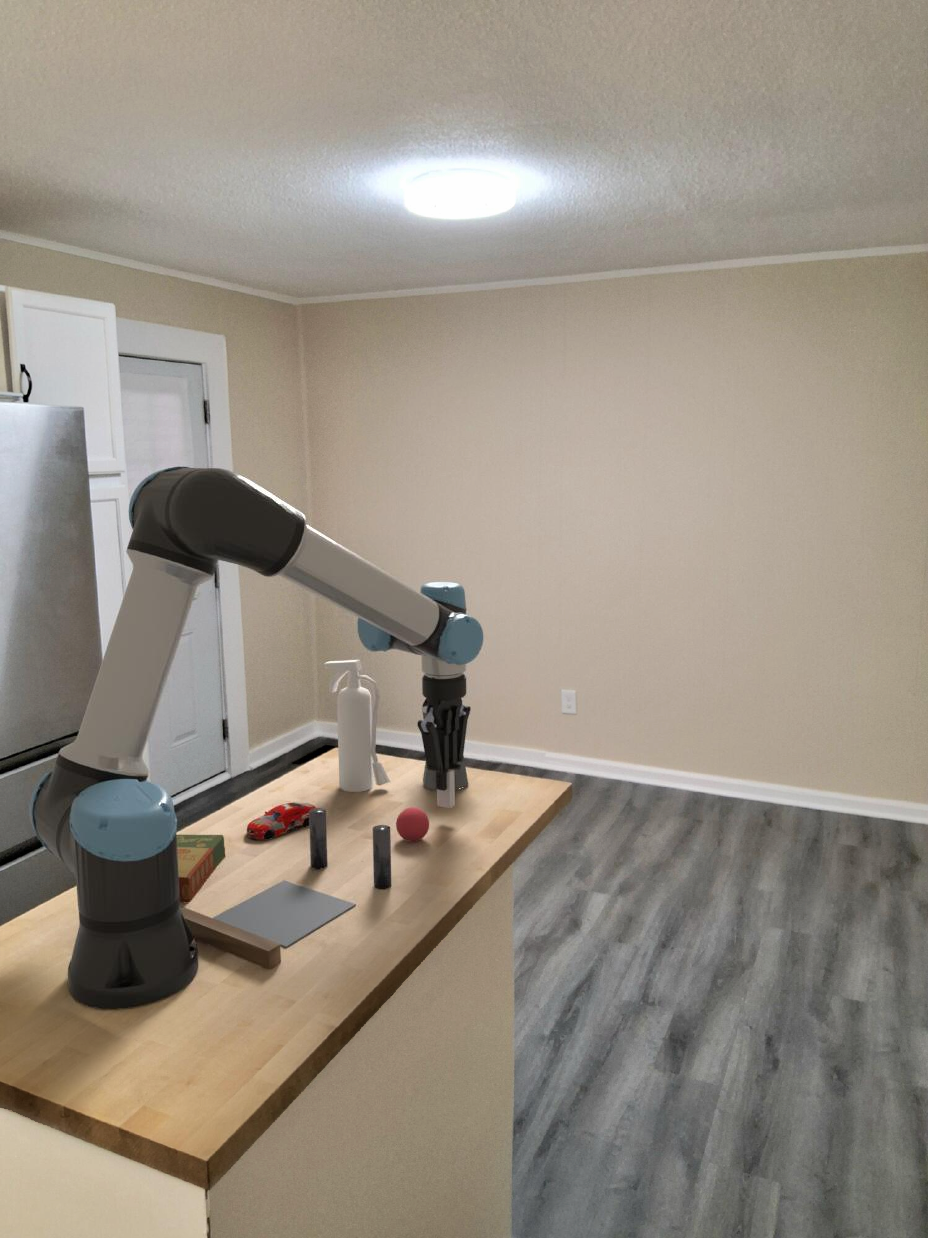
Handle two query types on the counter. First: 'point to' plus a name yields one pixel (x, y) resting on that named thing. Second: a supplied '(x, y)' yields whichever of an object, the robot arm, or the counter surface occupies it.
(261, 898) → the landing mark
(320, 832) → the far post
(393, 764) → the counter surface
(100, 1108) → the counter surface
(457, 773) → the coffeepot
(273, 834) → the race car
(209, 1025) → the counter surface
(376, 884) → the near post
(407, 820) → the ball
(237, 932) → the stopper wall
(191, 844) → the carton
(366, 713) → the fire extinguisher
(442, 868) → the counter surface
